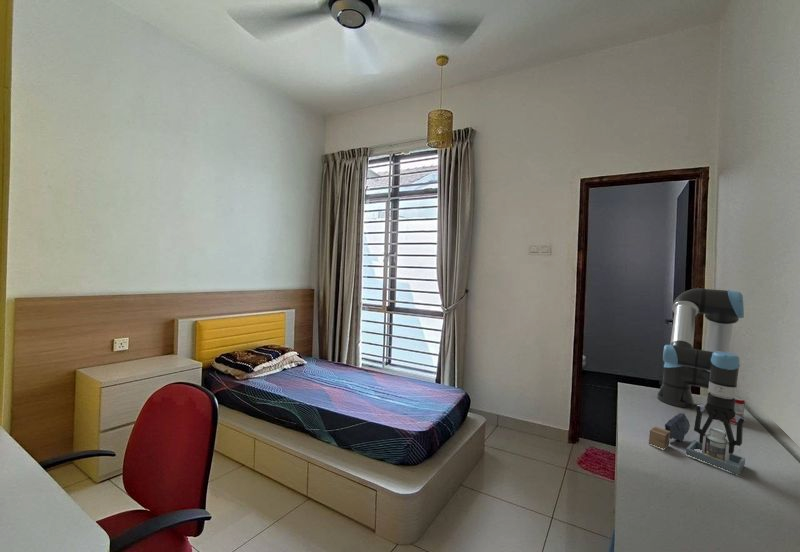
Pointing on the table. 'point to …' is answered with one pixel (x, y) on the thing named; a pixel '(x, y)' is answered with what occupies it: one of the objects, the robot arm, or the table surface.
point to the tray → (732, 465)
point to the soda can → (738, 408)
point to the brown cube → (659, 437)
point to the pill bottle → (716, 444)
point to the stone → (678, 427)
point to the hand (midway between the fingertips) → (715, 456)
